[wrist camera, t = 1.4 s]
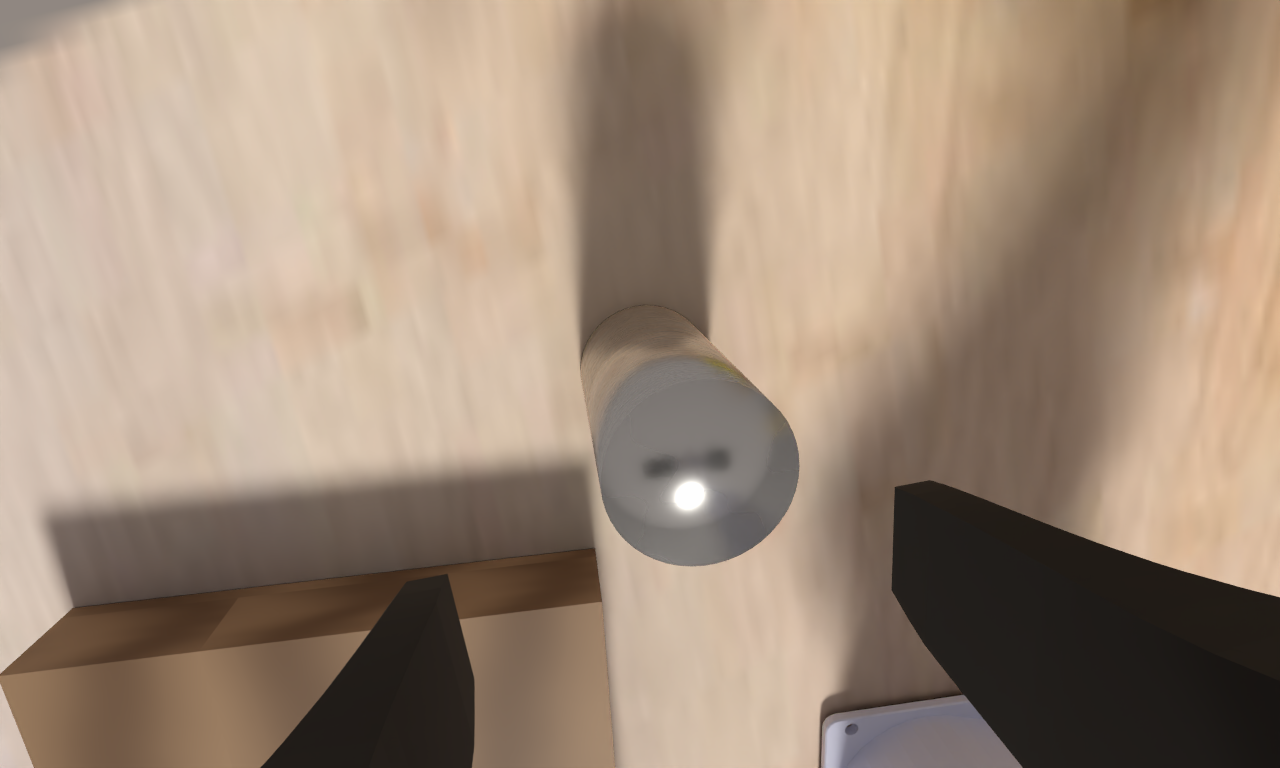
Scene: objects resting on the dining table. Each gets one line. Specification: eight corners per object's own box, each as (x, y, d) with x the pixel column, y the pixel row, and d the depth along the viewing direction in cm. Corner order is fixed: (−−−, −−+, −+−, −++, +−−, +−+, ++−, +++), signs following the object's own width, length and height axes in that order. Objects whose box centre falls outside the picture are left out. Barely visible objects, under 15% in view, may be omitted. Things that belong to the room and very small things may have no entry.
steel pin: (707, 300, 21) (801, 370, 13) (710, 423, 22) (797, 554, 14) (575, 310, 20) (593, 389, 13) (585, 435, 21) (607, 577, 14)
